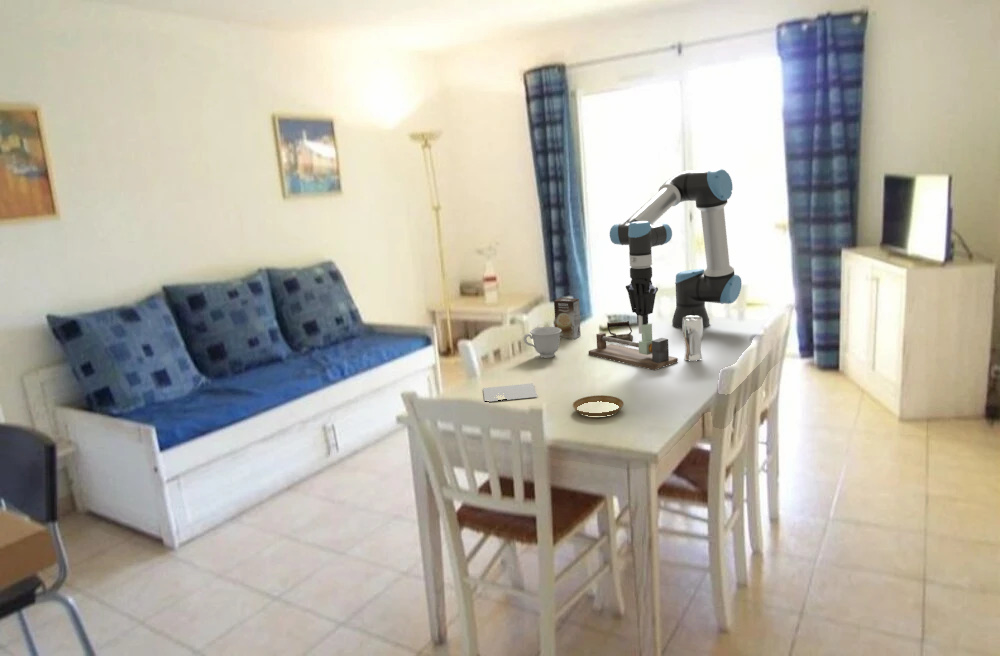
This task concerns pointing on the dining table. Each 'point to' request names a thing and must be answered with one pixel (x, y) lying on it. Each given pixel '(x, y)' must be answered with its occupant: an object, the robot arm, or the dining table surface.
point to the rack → (634, 352)
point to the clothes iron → (623, 336)
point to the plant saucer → (599, 398)
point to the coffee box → (567, 317)
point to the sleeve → (646, 339)
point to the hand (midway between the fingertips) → (643, 332)
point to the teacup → (545, 340)
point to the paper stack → (510, 392)
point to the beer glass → (692, 337)
